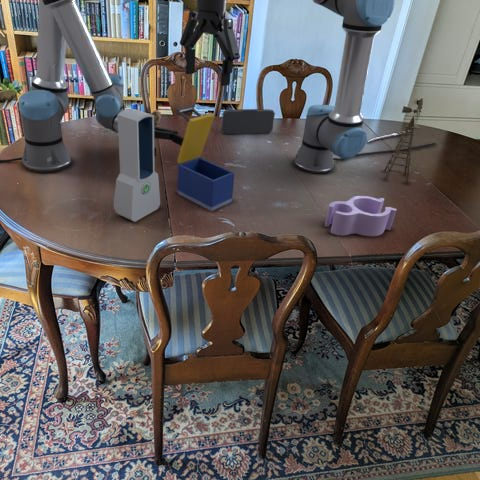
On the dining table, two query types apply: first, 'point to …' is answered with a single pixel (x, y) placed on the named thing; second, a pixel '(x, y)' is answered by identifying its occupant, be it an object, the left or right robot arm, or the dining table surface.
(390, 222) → the clip
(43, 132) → the left robot arm
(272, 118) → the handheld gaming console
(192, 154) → the lid
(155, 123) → the lion figurine
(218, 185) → the chest
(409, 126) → the miniature windmill
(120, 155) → the electronic device
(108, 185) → the dining table surface
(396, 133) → the sword
